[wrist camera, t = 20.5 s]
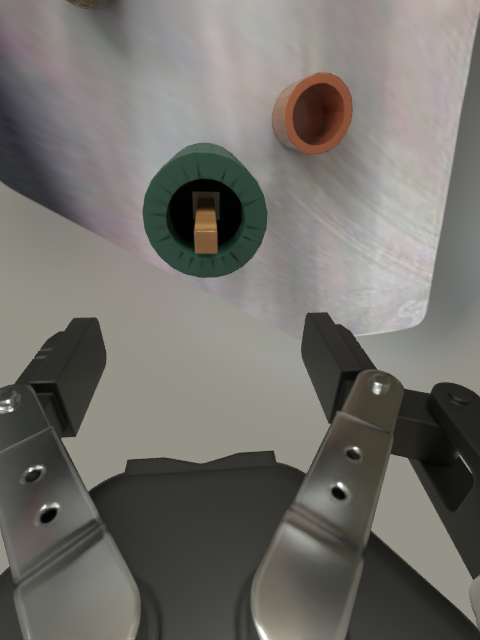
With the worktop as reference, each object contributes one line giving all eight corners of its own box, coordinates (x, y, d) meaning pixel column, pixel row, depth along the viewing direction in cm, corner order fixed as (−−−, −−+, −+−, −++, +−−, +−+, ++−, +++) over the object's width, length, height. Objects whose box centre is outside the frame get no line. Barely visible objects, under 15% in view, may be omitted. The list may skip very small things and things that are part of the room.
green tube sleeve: (159, 141, 37) (134, 150, 24) (249, 144, 38) (271, 153, 25) (167, 232, 42) (151, 278, 29) (246, 232, 43) (263, 277, 30)
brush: (194, 179, 38) (184, 222, 21) (217, 179, 39) (226, 222, 22) (195, 204, 40) (187, 262, 23) (217, 204, 40) (226, 261, 23)
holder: (274, 80, 35) (288, 71, 29) (333, 82, 35) (359, 74, 29) (270, 149, 38) (281, 153, 32) (323, 150, 39) (345, 154, 33)
